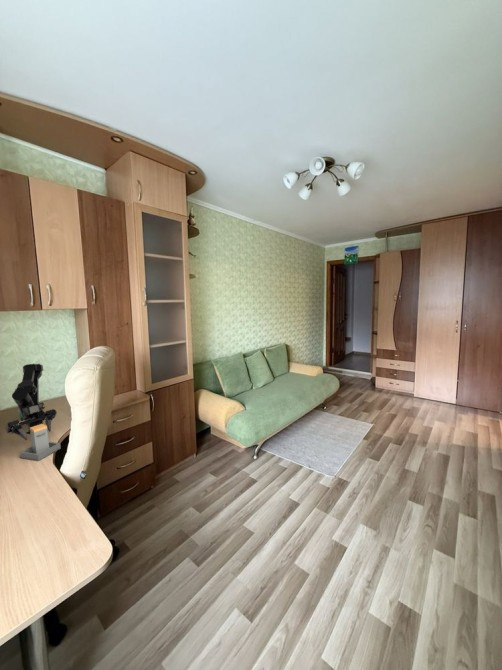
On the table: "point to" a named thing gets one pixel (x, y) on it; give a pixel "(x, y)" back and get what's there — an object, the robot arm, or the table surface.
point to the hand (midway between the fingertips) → (38, 435)
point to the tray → (37, 457)
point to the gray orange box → (39, 438)
